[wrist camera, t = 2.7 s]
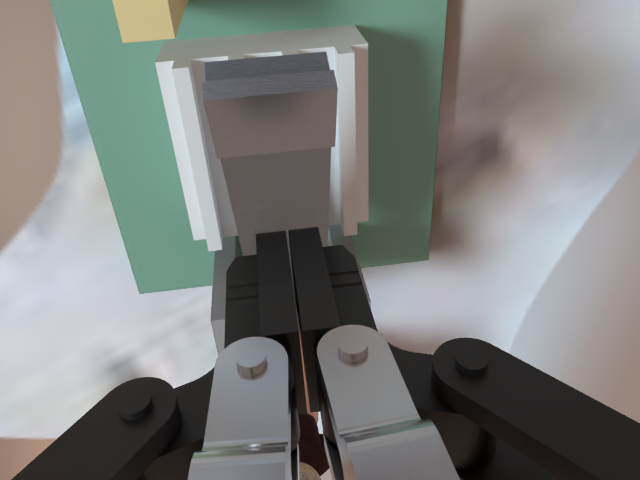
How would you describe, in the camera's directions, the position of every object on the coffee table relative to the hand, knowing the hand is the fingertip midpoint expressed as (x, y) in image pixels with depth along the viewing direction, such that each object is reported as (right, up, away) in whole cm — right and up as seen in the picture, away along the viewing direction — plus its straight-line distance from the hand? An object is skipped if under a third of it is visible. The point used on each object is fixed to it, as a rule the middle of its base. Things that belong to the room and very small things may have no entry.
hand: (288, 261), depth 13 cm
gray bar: (-1, +2, +7) cm, 7 cm away
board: (-2, +6, +13) cm, 15 cm away
